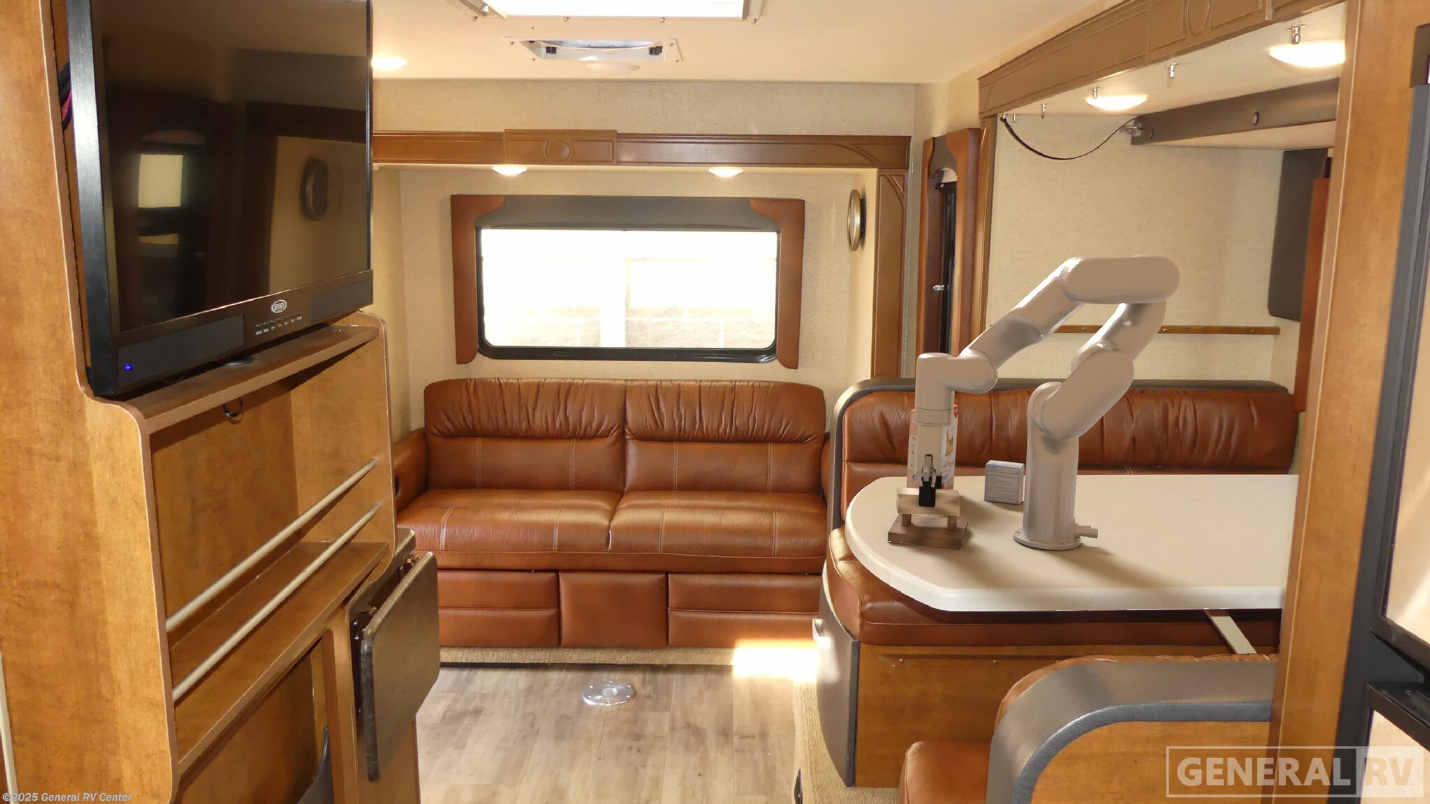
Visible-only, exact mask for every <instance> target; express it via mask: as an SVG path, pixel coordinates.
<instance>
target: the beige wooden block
mask: <svg viewBox="0 0 1430 804" xmlns="http://www.w3.org/2000/svg"><path fill="white" fill-rule="evenodd" d="M918 503H919V488H907V487H896V504H895V505H896V508H895V509H896V511H897V515H899V514H912V515H923V516H947V517H948V516H957V517H960V510H961V494H960V492H959V489H953V490H949V489H936V502H935V507H934V508H932V507H921V506H919V505H918Z"/></svg>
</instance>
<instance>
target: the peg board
mask: <svg viewBox="0 0 1430 804" xmlns="http://www.w3.org/2000/svg"><path fill="white" fill-rule="evenodd" d="M968 526H969V519H962V518H960V519H959V518H958V516H947V517H943V516H934V515H920V514H897V516H896V519H894V522H893V523H892V525H891V527H890V528H889V530H888V532H887V542H888V541H891V542H890V543H894V542H902V543H901V544H903V543H907V544H906V545H912V544H916V545H915V546H924V547H934V548H941V549H952V550H962V547H963V545H964V544H963V543H964V541H965V538H966V535H967V532H968V528H969V527H968Z"/></svg>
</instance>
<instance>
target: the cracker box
mask: <svg viewBox="0 0 1430 804" xmlns="http://www.w3.org/2000/svg"><path fill="white" fill-rule="evenodd" d="M959 407H960V406H959V405H957V404H954V414H953V425H951V426H947V437H946V453H945V462H944V467H943V469H942V474H941V476H942V489H949V490H954V487H955V486H954V483H955V470H956V468H955V467H956V452H957V437H958V422H959V421H958V419H959ZM914 413H915V408H913V409H912V410H910V413H909V414H910V417H909V418H910V419H909V435H908V436H909V437H908V453H907V471H906V473H907V474H906V488H919V486H920V479H921V472H922V471H921V472H920V473H919V474H916V473H915V460H916V446H917V435H918V428H919V425H918V424H915V423H914Z"/></svg>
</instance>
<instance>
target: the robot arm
mask: <svg viewBox="0 0 1430 804" xmlns="http://www.w3.org/2000/svg"><path fill="white" fill-rule="evenodd" d="M1180 283H1181V272H1180V269H1179V267H1178V266H1177V264H1176V263H1175V262H1174V261H1173V260H1171V259H1170V258H1168V257H1165V256H1163V255H1158V254H1157V255H1156V254H1150V253H1138V254H1135V255H1132V256H1125V257H1124V256H1121V257H1094V256H1087V255H1086V256H1085V255H1076V256H1073V257H1071V258H1069V259H1067V260H1066V261H1065V262H1063V263H1062V264H1061V265H1059V266H1058V267H1057V268H1056V269H1055V270H1054V271H1053V272H1051V274H1050V275H1048V276H1047V277H1046V278H1045V279H1044V280H1043V281H1041V283H1040V284H1039V285H1037V286H1036V287H1035V288H1034V289H1033V290H1032V291H1030V293H1029V294H1027V295H1026V297H1024V298H1023V299H1022V300H1021V301H1020V302H1018V304H1016V305H1015V306H1014V307H1013V308H1011V309H1010V310H1009V311H1008V312H1007V313H1005V314H1004V315H1003V316H1002V317H1000V318H999V319H998V320H997V321H996V322H995V323H993V324H992V325H991V326H989V327H987V328H986V329H985V330H984V331H983V332H982V333H981V334H980V335H978V337H976V338H975V339H974V340H973V341H972V342H971V343H969V345H968V346H967V347H965V348H964V349H963V350H962V351H961V353H959V354H958V356H957V357H956V356H955V357H954V355H952V354H949V353H944V352H925V353H922V354H920V355H919V356H918V357H917V360H916V368H915V369H916V370H915V371H916V372H915V373H916V374H915V389H914V390H915V392H914V393H915V396H914V409H915V413H914V423H915V424H918V425H919V428H918V435H917V446H916V460H915V473H916V474H919V473H920V472H921V471H922V472H921V479H920V486H919V503H918V505H919V506H921V507H932V508H934V507H935V502H936V489H942V476H941V474H942V469H943V467H944V462H945V453H946V437H947V426H951V425H953V414H954V405H955V394H956V393H955V392H960V393H966V394H972V395H982V394H986V393H988V392H989V391H991V390H992V389H994V387H995V386H996V384H997V383H998V379H999V372H998V369H999V368H1000V367H1002V366H1003V365H1004V364H1005V363H1006V362H1008V360H1009V359H1011V358H1012V357H1014V356H1015V355H1016V354H1018V353H1019V352H1021V351H1022V350H1023V349H1026V348H1029V347H1030V346H1034V345H1037V344H1039V343H1041V342H1043V341H1045V340H1046V339H1048V338H1049V337H1050V336H1052V335H1053V334H1055V332H1056V331H1057V330H1058V329H1059V328H1061V326H1062V325H1063V324H1065V323H1066V322H1067V321H1068V320H1069V319H1070V318H1072V317H1073V315H1074V314H1076V313H1077V312H1078V311H1079V310H1080V309H1082V308H1083V307H1084V306H1085V305H1086V304H1087V305H1118V306H1117V308H1116V310H1115V312H1113V314H1112V315H1111V316H1110V318H1109V319H1108V320H1107V321H1106V322H1105V323H1104V324H1103V326H1101V328H1099V329H1098V330H1097V332H1096V333H1094V334H1093V335H1092V337H1090V338H1089V340H1088V341H1087V342H1085V343H1084V344H1083V345H1082V346H1081V347H1080V348H1079V349H1078V350H1077V351H1076V352H1075V353H1074V355H1073V357H1072V358H1071V361H1070V374H1069V376H1067V378H1065V380H1064V381H1062V382H1061V381H1048V382H1045V383H1042V384H1040V385H1039V386H1038V387H1037V388H1035V390H1033V392H1032V393H1031V395H1030V397H1029V400H1028V402H1027V403H1028V404H1027V410H1026V419H1027V448H1026V464H1025V474H1024V479H1025V480H1024V491H1023V509H1022V510H1023V512H1022V526H1021V527H1019V528H1016V529H1015V530H1014V531H1013V538H1014V540H1015V541H1016V542H1018V543H1020V544H1022V545H1024V546H1027V547H1031V548H1036V549H1040V550H1048V551H1051V550H1052V551H1063V550H1064V551H1065V550H1071V549H1075V548H1078V547H1079V546H1080V545H1081V542H1082V541H1081V540H1082V537H1086V538H1090V539H1091V538H1092V539H1098V534H1099V528H1096V527H1092V525H1086V524H1084V525H1083V524H1081V525H1080V524H1079V523H1076V517H1075V508H1076V507H1075V505H1076V493H1077V492H1076V491H1077V479H1078V466H1079V465H1078V464H1079V450H1080V449H1079V447H1080V446H1079V444H1080V443H1079V442H1080V441H1079V440H1080V439H1079V437H1081V436H1083V435H1084V434H1085V433H1086V432H1088V431H1089V430H1090V429H1091V428H1092V427H1093V426H1094V425H1095V424H1096V423H1097V422H1098V421H1099V420H1100V419H1101V418H1102V417H1104V415H1106V413H1108V411H1110V409H1112V407H1113V406H1115V405H1116V403H1117V402H1118V401H1119V400H1120V399H1121V398H1122V397H1123V396H1124V395H1125V394H1126V393H1127V391H1128V390H1129V388H1130V387H1131V385H1132V382H1134V381H1133V380H1134V376H1135V366H1134V361H1135V360H1136V359H1137V358H1138V356H1139V355H1140V354H1141V353H1142V352H1143V351H1144V350H1145V349H1146V348H1147V346H1149V344H1150V343H1151V342H1152V341H1153V340H1154V339H1155V337H1156V336H1157V334H1158V333H1159V331H1160V329H1161V328H1162V326H1163V323H1164V320H1165V317H1166V312H1167V301H1168V299H1169V298H1171V297H1172V296H1173V295H1174V294H1175V293H1176V292H1177V290H1178V289H1179V288H1180V287H1179V286H1180Z"/></svg>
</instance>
